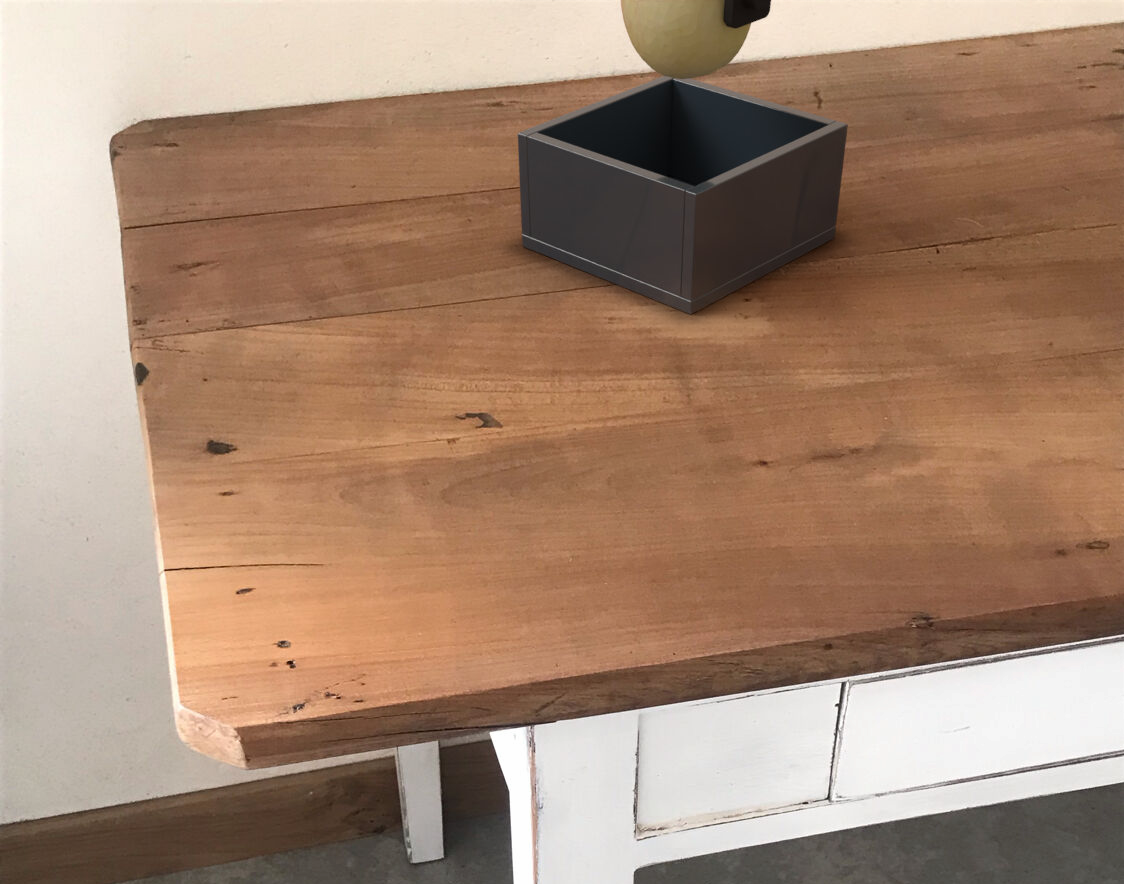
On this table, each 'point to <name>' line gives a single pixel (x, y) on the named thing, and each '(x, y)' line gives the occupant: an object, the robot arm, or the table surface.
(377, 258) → the table surface
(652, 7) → the fruit
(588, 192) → the dark grey open box
